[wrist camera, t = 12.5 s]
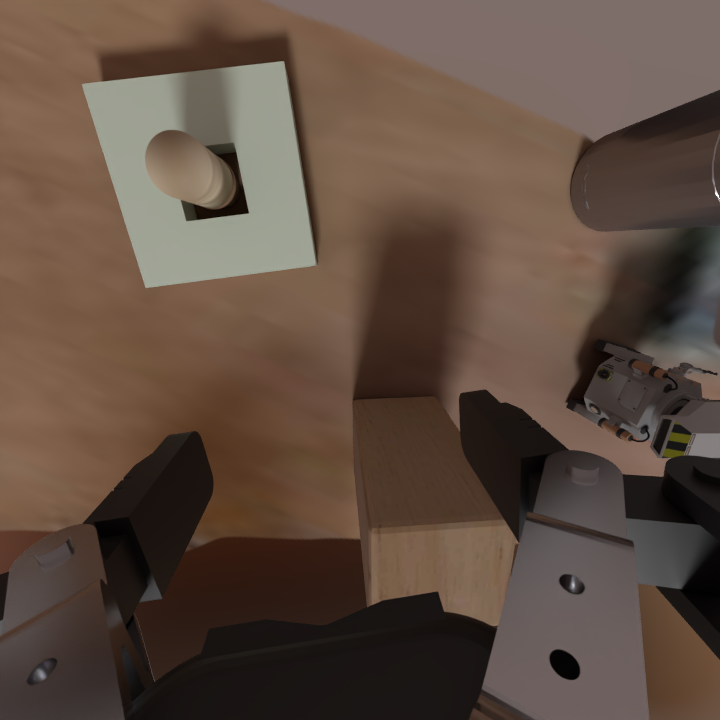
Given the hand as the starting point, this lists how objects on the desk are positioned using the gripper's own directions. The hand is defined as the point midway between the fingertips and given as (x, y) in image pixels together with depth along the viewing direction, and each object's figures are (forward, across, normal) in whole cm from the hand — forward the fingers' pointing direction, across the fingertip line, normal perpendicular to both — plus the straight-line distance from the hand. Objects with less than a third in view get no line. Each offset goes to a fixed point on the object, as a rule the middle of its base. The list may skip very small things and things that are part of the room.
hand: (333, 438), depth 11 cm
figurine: (+28, -32, +14) cm, 45 cm away
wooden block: (+28, -5, +17) cm, 33 cm away
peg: (+28, +9, -12) cm, 32 cm away
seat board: (+28, +9, -12) cm, 32 cm away
